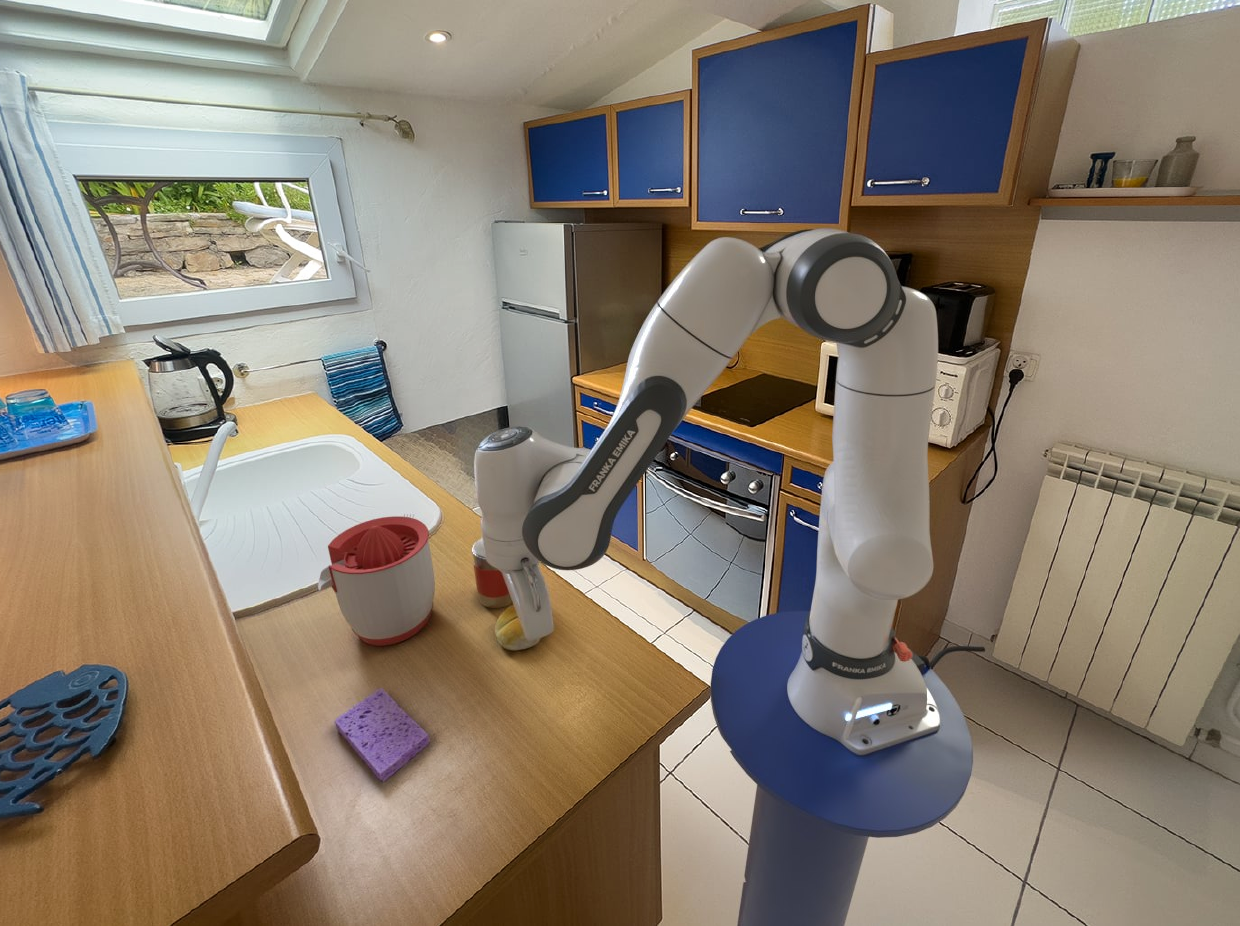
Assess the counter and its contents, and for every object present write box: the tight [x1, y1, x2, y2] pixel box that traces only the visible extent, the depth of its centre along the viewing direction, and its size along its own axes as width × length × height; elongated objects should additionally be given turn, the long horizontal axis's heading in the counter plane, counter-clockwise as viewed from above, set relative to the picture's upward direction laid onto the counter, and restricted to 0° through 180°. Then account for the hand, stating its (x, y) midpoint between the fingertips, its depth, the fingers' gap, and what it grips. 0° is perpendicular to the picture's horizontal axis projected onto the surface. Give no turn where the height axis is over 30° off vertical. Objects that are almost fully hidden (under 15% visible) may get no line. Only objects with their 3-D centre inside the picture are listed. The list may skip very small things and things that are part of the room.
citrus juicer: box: [317, 515, 436, 646], centre depth 91 cm, size 16×17×20 cm
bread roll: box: [494, 604, 542, 651], centre depth 92 cm, size 8×9×4 cm
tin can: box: [471, 537, 513, 609], centre depth 100 cm, size 8×8×11 cm
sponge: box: [333, 687, 431, 783], centre depth 75 cm, size 7×13×2 cm, turn 53°
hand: (525, 618), depth 79 cm, fingers closed
